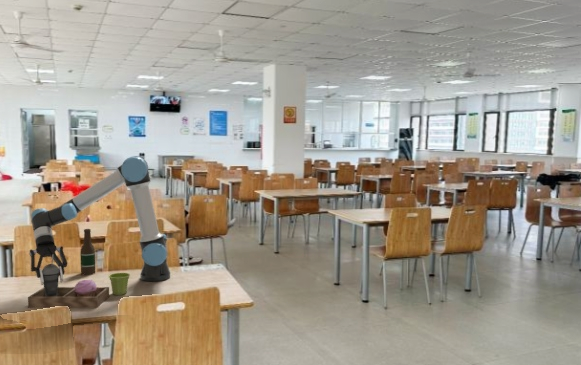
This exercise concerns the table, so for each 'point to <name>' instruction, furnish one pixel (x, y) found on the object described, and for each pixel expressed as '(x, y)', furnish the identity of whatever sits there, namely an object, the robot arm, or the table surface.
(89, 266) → the beer bottle
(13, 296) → the table surface
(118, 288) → the plant pot
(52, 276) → the beverage cup
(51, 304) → the tray
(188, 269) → the table surface
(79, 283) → the cupcake
